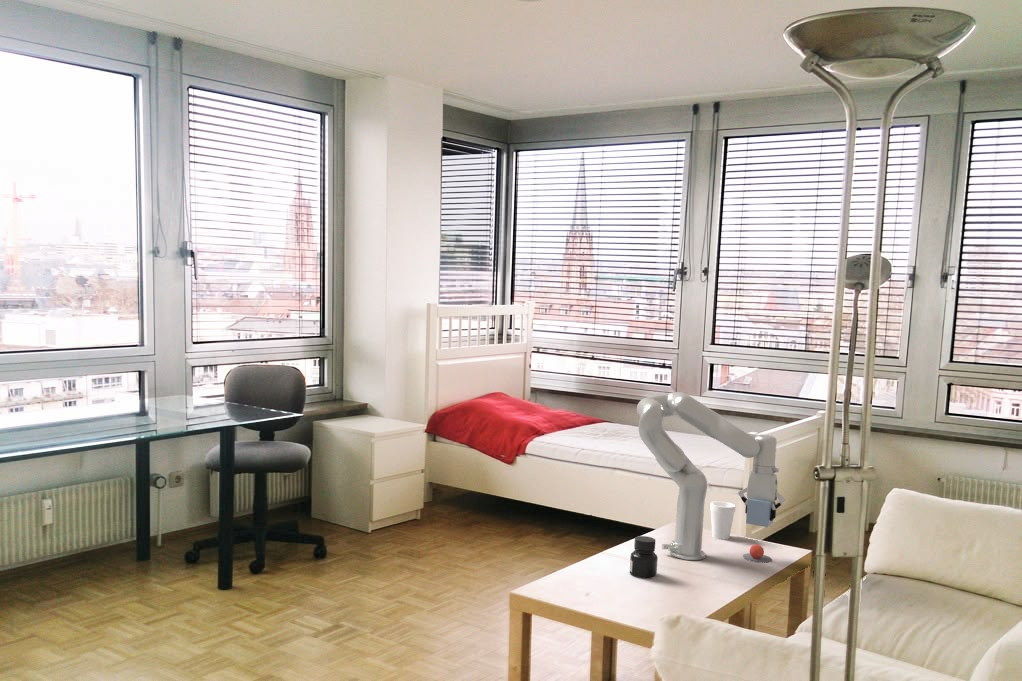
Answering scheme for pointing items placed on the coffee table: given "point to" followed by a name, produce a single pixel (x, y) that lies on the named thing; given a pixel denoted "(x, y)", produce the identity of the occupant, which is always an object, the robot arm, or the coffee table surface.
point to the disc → (762, 559)
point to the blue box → (758, 512)
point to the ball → (756, 551)
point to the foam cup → (721, 519)
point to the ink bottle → (643, 558)
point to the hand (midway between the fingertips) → (760, 517)
